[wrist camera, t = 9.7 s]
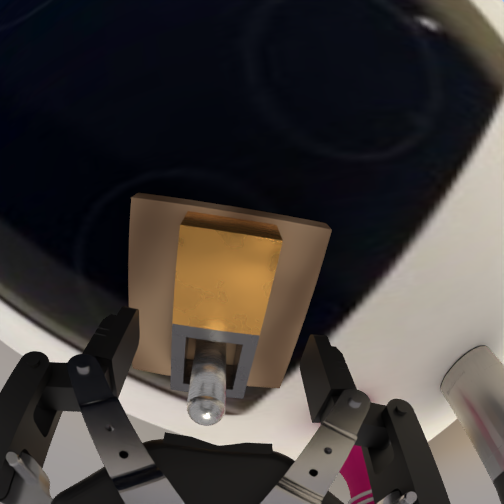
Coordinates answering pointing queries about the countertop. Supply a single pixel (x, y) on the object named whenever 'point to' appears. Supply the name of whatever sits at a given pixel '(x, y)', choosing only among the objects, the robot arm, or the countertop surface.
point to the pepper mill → (357, 477)
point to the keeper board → (164, 269)
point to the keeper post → (208, 383)
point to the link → (222, 291)
